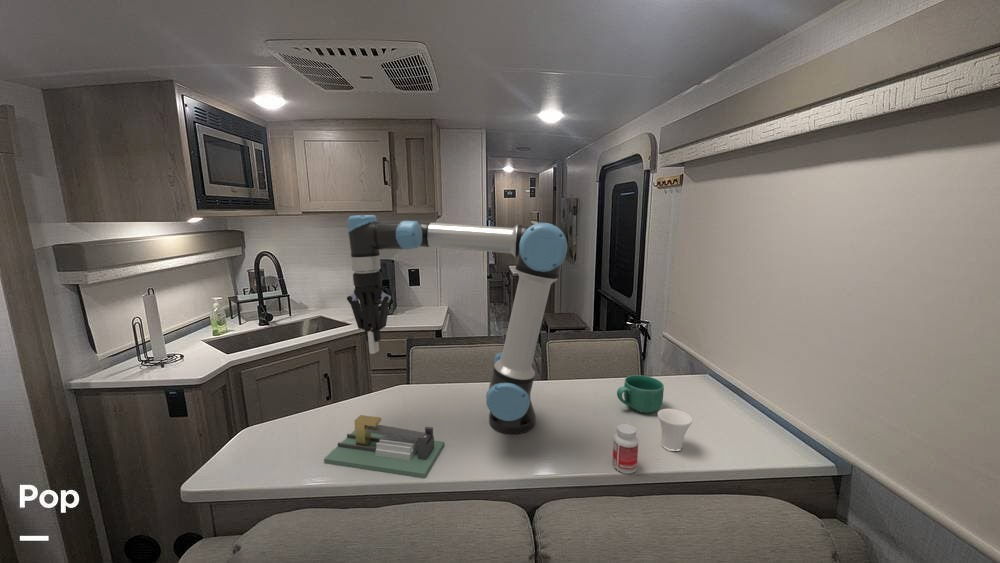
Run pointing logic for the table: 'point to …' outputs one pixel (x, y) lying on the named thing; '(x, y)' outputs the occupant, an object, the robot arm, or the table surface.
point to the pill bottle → (625, 449)
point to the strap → (398, 432)
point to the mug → (642, 393)
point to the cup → (673, 427)
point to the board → (381, 461)
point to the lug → (364, 428)
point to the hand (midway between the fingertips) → (374, 352)
